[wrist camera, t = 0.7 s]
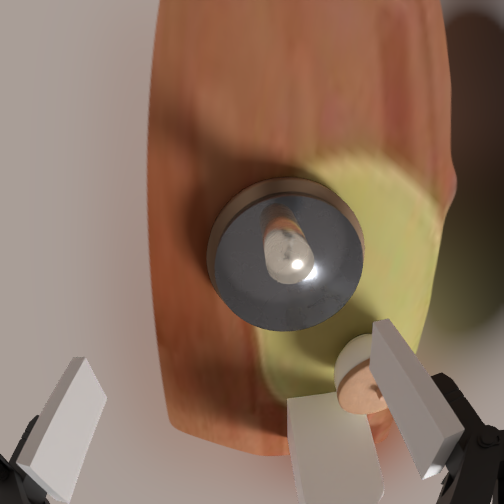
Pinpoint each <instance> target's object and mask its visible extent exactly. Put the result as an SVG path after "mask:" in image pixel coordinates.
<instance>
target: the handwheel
mask: <svg viewBox="0 0 504 504" xmlns="http://www.w3.org/2000/svg"><path fill="white" fill-rule="evenodd" d="M362 268H363V250H362V246H361V242H360V239H359V236H358V234H357V232H356V230H355V229H354V227H353V225H352V224H351V223H350V221H349V220H348V219H347V218H346V217H345V216H344V215H343V214H342V213H341V212H340V211H339V210H338V209H337V208H336V207H335V206H334V205H332V204H331V203H329V202H328V201H326V200H324V199H322V198H320V197H318V196H315V195H312V194H309V193H303V192H294V191H287V192H278V193H273V194H269V195H266V196H263V197H260V198H258V199H256V200H254V201H252V202H250V203H249V204H248V205H246V206H245V207H243V208H242V209H241V210H240V211H239V212H237V213H236V214H235V215H234V216H233V218H232V219H231V220H230V221H229V222H228V224H227V226H226V227H225V229H224V230H223V233H222V235H221V237H220V240H219V243H218V246H217V252H216V258H215V279H216V284H217V287H218V290H219V292H220V294H221V296H222V299H223V300H224V301H225V303H226V304H227V306H228V307H229V308H230V309H231V310H232V311H233V312H234V313H235V314H236V315H237V316H238V317H240V318H241V319H243V320H244V321H246V322H248V323H250V324H252V325H254V326H257V327H260V328H263V329H267V330H272V331H296V330H301V329H306V328H309V327H312V326H315V325H317V324H319V323H321V322H323V321H325V320H327V319H328V318H330V317H331V316H333V315H334V314H335V313H337V312H338V311H339V310H340V309H341V308H342V307H343V306H344V305H345V304H346V303H347V302H348V300H349V299H350V298H351V296H352V295H353V293H354V291H355V289H356V287H357V285H358V283H359V280H360V277H361V273H362Z"/></svg>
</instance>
